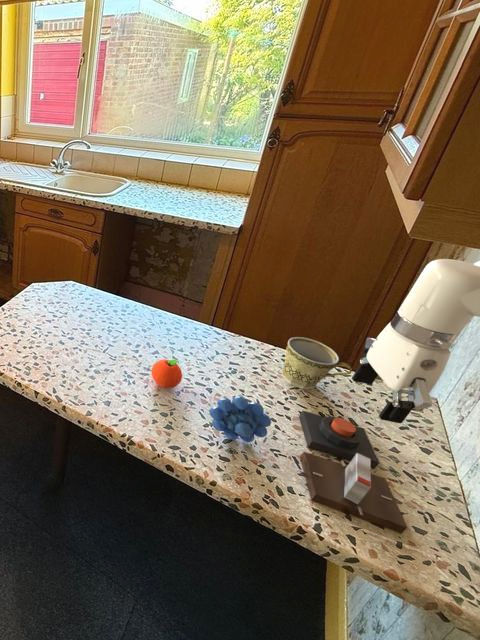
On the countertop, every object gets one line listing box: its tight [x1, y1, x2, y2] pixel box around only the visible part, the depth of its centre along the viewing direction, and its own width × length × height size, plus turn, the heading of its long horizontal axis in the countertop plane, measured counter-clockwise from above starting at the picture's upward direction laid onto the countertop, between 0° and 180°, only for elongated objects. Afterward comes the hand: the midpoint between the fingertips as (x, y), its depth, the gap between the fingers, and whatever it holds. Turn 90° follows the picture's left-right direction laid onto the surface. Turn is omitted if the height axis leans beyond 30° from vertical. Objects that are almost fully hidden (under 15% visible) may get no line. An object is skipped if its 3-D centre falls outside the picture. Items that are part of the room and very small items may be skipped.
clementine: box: [151, 358, 183, 389], centre depth 100 cm, size 8×7×7 cm
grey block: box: [344, 453, 372, 504], centre depth 75 cm, size 8×2×5 cm, turn 138°
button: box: [331, 417, 356, 437], centre depth 85 cm, size 4×4×2 cm
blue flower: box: [208, 395, 272, 443], centre depth 84 cm, size 12×7×12 cm, turn 74°
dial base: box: [299, 451, 408, 534], centre depth 76 cm, size 13×12×2 cm
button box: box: [298, 410, 380, 470], centre depth 86 cm, size 11×9×4 cm
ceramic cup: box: [281, 336, 353, 390], centre depth 99 cm, size 13×10×10 cm
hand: (374, 400), depth 76 cm, fingers open, 9 cm apart
